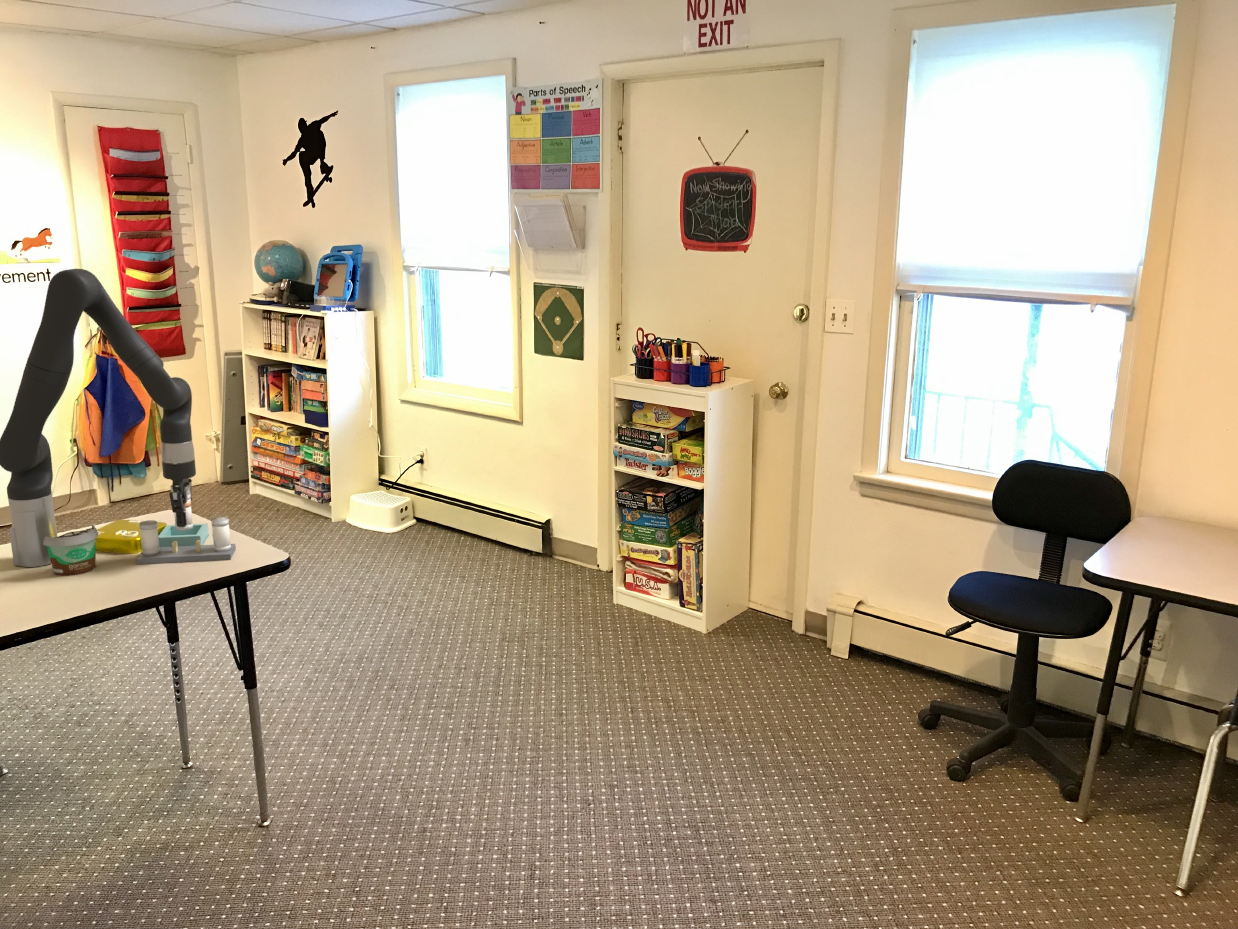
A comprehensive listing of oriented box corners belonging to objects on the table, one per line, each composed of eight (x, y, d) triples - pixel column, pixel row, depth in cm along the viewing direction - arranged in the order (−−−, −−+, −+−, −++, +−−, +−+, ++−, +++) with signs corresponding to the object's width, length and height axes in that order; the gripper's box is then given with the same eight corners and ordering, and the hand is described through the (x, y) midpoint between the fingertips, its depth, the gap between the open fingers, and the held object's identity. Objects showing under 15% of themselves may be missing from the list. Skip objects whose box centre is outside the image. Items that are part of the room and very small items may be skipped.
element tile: (171, 537, 256) (169, 520, 254) (137, 555, 241) (135, 538, 240) (120, 533, 257) (118, 516, 256) (83, 551, 243) (81, 534, 242)
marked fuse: (173, 531, 236) (170, 496, 234) (177, 525, 240) (174, 492, 238) (191, 530, 237) (188, 496, 235) (194, 525, 241) (191, 491, 239)
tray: (158, 550, 244) (157, 537, 243) (167, 537, 254) (166, 525, 253) (201, 548, 246) (200, 535, 245) (208, 535, 256) (207, 523, 255)
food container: (60, 581, 222) (55, 542, 220) (47, 576, 225) (42, 536, 223) (112, 567, 232) (107, 528, 230) (98, 561, 235) (94, 523, 233)
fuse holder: (137, 564, 234) (133, 528, 232) (145, 553, 242) (141, 518, 239) (230, 559, 239) (227, 524, 237) (235, 549, 247) (233, 514, 244)
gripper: (168, 451, 240) (174, 515, 244) (154, 465, 226) (161, 533, 231) (200, 451, 241) (205, 514, 246) (188, 465, 228) (193, 531, 232)
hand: (183, 523), depth 238 cm, fingers closed on marked fuse, 4 cm apart
